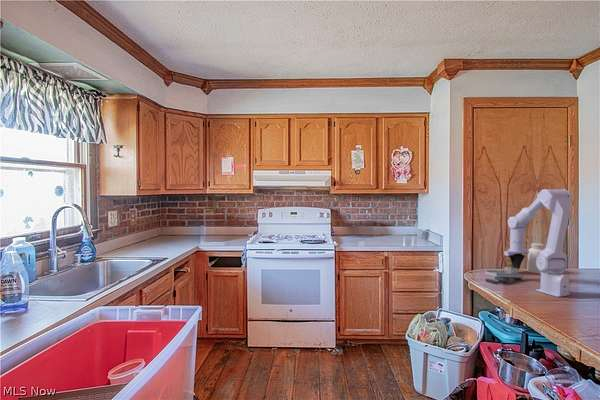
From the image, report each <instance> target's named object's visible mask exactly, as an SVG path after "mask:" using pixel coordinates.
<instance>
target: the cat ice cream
mask: <svg viewBox="0 0 600 400" xmlns="http://www.w3.org/2000/svg"><path fill="white" fill-rule="evenodd" d="M508 249H510V240H508V242H507V243H506V247H505V248H504V251H508ZM504 257H505V259H504V260H505V262H506V264H505V265H506V267H510V266H512V267H513V265H512V262H511V259H510V258H509V256H506V255H504Z"/></svg>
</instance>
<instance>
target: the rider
mask: <svg viewBox="0 0 600 400" xmlns="http://www.w3.org/2000/svg"><path fill="white" fill-rule="evenodd" d="M503 271H504V273H517V274H519V270H518V268H514V267H512V266H510V267H508V266H504V270H503Z"/></svg>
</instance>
